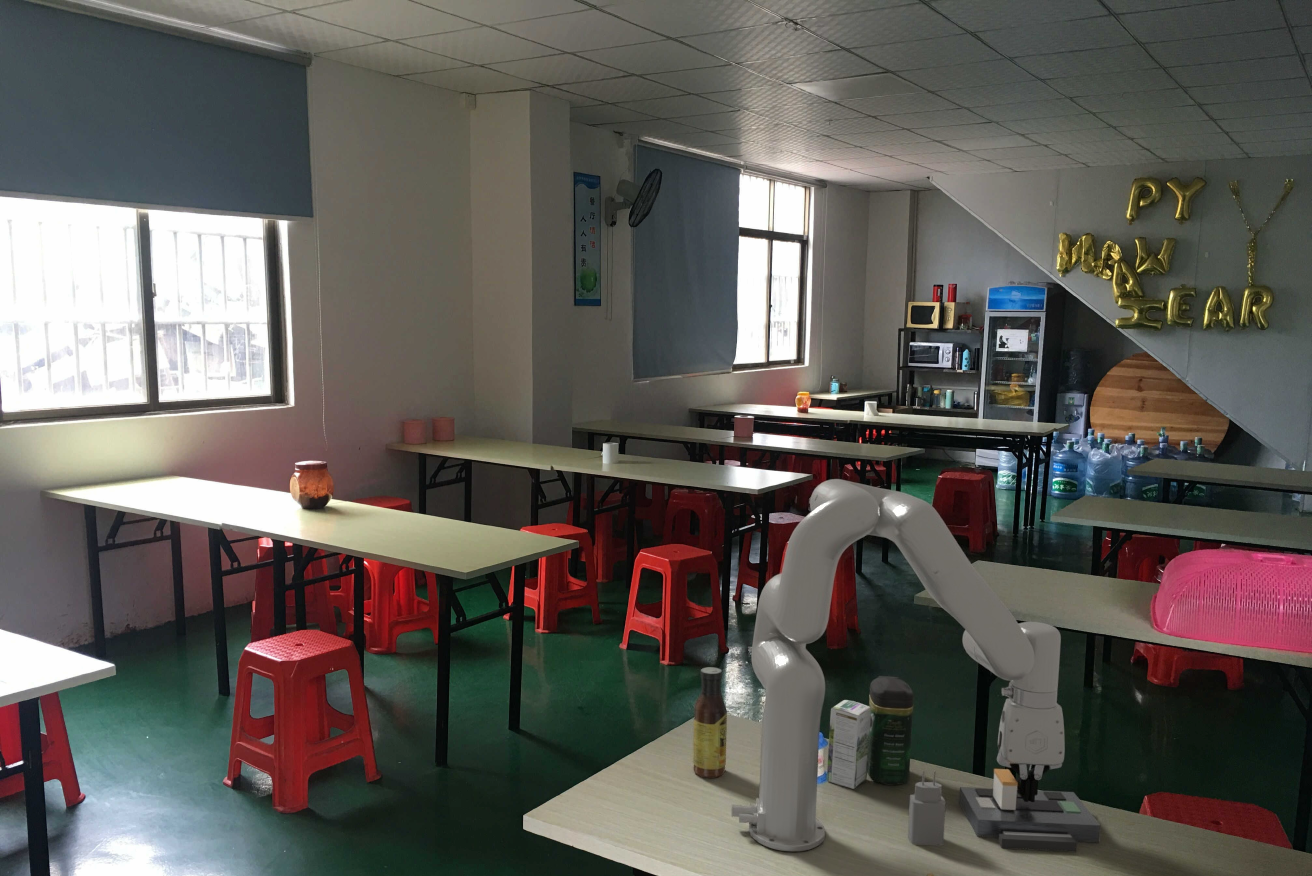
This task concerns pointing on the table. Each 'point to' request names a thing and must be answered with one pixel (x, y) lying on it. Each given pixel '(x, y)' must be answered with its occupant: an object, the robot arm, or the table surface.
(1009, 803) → the lever
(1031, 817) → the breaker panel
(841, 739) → the syrup box
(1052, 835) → the dark grey bar
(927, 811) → the power adapter
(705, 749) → the sauce bottle
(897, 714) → the coffee jar
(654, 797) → the table surface
